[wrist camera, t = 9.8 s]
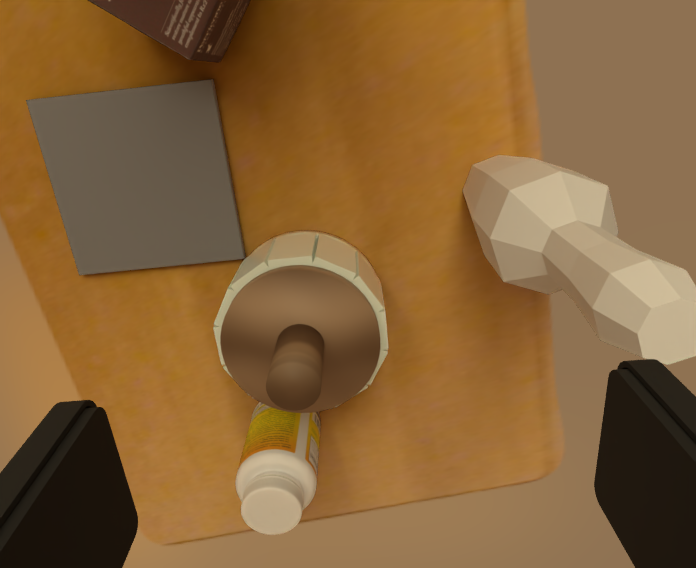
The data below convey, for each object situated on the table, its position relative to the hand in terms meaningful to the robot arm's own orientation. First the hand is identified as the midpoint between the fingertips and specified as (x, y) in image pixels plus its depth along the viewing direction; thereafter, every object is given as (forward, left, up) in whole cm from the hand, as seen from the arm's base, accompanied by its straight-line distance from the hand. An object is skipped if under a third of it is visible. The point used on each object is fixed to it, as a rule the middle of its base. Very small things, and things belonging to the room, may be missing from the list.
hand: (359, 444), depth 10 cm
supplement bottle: (+19, -7, -29) cm, 36 cm away
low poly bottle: (+2, +10, -29) cm, 31 cm away
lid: (+9, -4, -23) cm, 25 cm away
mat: (-1, -14, -29) cm, 32 cm away
